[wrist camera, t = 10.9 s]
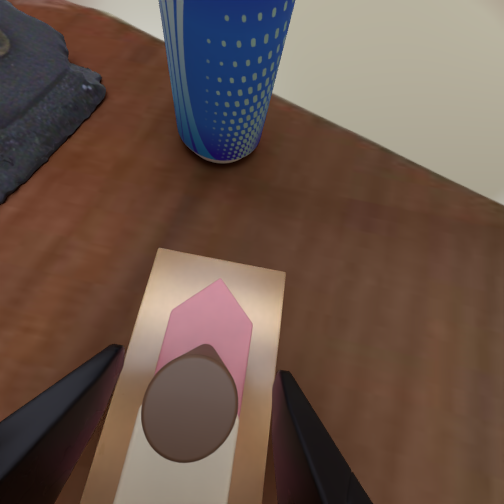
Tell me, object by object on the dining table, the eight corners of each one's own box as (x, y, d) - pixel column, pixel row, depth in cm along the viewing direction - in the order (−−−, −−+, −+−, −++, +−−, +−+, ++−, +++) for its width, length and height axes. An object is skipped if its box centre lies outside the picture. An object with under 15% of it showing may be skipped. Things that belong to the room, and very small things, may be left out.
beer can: (228, 97, 28) (250, -169, 14) (274, 149, 27) (353, -86, 12) (162, 123, 26) (100, -173, 11) (209, 183, 24) (209, -67, 9)
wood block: (246, 484, 17) (259, 532, 13) (110, 470, 16) (75, 516, 12) (271, 285, 22) (286, 271, 18) (168, 265, 21) (158, 247, 17)
